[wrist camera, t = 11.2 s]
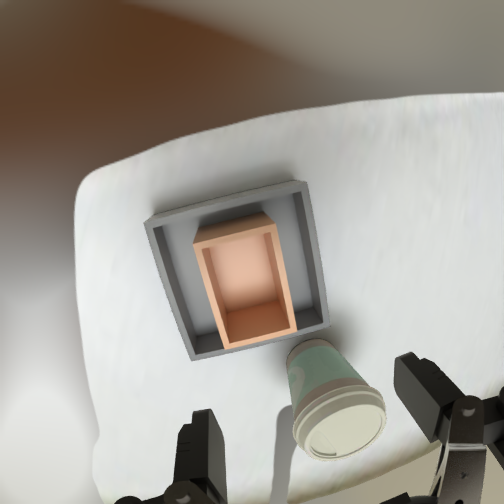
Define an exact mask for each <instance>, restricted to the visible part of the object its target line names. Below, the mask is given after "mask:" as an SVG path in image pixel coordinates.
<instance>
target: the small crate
mask: <svg viewBox="0 0 504 504" xmlns="http://www.w3.org/2000/svg"><path fill="white" fill-rule="evenodd" d="M193 247H194V251H195V254H196V258H197V261H198V265H199V268H200V272H201V275H202V278H203V282H204V285H205V288H206V292H207V295H208V298H209V301H210V305H211V308H212V311H213V314H214V318H215V321H216V324H217V327H218V330H219V333H220V336H221V339H222V342H223V346H224V349H225V350H227V349H231V348H235V347H240V346H244V345H248V344H252V343H256V342H260V341H264V340H268V339H272V338H276V337H280V336H284V335H287V334H291V333H295V332H297V327H296V321H295V316H294V311H293V306H292V300H291V295H290V290H289V285H288V280H287V275H286V270H285V265H284V260H283V255H282V251H281V246H280V241H279V236H278V231H277V227H276V223H275V222H274V221H273V220H272V219H271V218H270V217H269V216H268V215H267V214H266V213H265V212H264V211H263V212H259V213H255V214H251V215H247V216H243V217H238V218H234V219H230V220H226V221H222V222H218V223H214V224H210V225H206V226H202V227H199V228H198V229H197V232H196V235H195V238H194V241H193Z"/></svg>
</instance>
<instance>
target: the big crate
mask: <svg viewBox="0 0 504 504" xmlns="http://www.w3.org/2000/svg"><path fill="white" fill-rule="evenodd" d="M263 211H264V212H265V213H266V214H267V215H268V216H269V217H270V218H271V219H272V220H273V221H274V222H275V223H276V227H277V231H278V236H279V241H280V246H281V251H282V255H283V260H284V265H285V270H286V275H287V280H288V285H289V290H290V295H291V300H292V306H293V311H294V316H295V321H296V327H297V332H295V333H291V334H287V335H284V336H280V337H276V338H272V339H268V340H264V341H260V342H256V343H252V344H248V345H244V346H240V347H235V348H231V349H227V350H225V349H224V346H223V342H222V339H221V336H220V333H219V330H218V327H217V324H216V321H215V318H214V314H213V311H212V308H211V305H210V301H209V298H208V295H207V292H206V288H205V285H204V282H203V278H202V275H201V272H200V268H199V265H198V261H197V258H196V254H195V251H194V247H193V241H194V238H195V235H196V232H197V229H198V228H199V227H202V226H206V225H210V224H214V223H218V222H222V221H226V220H230V219H234V218H238V217H243V216H247V215H251V214H255V213H259V212H263ZM144 226H145V229H146V233H147V236H148V240H149V243H150V246H151V249H152V253H153V256H154V259H155V262H156V265H157V268H158V271H159V274H160V278H161V281H162V283H163V286H164V289H165V292H166V295H167V298H168V301H169V304H170V307H171V309H172V312H173V315H174V318H175V320H176V323H177V326H178V329H179V331H180V334H181V336H182V339H183V342H184V344H185V347H186V349H187V352H188V354H189V357H190V359H191V361H195V360H200V359H205V358H210V357H215V356H219V355H224V354H228V353H233V352H237V351H241V350H246V349H250V348H254V347H258V346H262V345H266V344H270V343H274V342H277V341H281V340H285V339H289V338H292V337H296V336H300V335H303V334H307V333H310V332H314V331H317V330H321V329H324V328H327V327H330V319H329V311H328V304H327V297H326V290H325V283H324V276H323V270H322V263H321V257H320V251H319V245H318V239H317V233H316V228H315V222H314V217H313V211H312V206H311V201H310V195H309V190H308V185H307V182H302V181H297V180H293V181H288V182H284V183H279V184H274V185H270V186H266V187H261V188H257V189H253V190H248V191H244V192H240V193H236V194H232V195H227V196H223V197H219V198H215V199H211V200H207V201H204V202H200V203H196V204H192V205H188V206H184V207H181V208H177V209H173V210H170V211H166V212H162V213H159V214H155V215H153V216H152V217H150V218H149V219H148V220H146V221H145V222H144Z"/></svg>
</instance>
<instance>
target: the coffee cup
mask: <svg viewBox="0 0 504 504" xmlns="http://www.w3.org/2000/svg"><path fill="white" fill-rule="evenodd" d="M286 365H287V373H288V380H289V387H290V394H291V401H292V407H293V414H294V421H295V423H294V426H293V436H294V438H295V440H296V442H297V444H298V445H299V447H300V448H301V449H303V450H304V451H305V452H306V454H307V455H308V456H310V457H311V458H313V459H316V460H320V461H336V460H341V459H344V458H348V457H350V456H353V455H355V454H357V453H359V452H361V451H362V450H364V449H366V448H367V447H368V446H370V445H371V444H372V443H373V442H374V441H375V440H376V439H377V438H378V437H379V436H380V434H381V433H382V431H383V429H384V427H385V425H386V413H385V403H384V401H383V397H382V395H381V394H380V392H379V391H377V390H376V389H374V388H372V387H370V386H369V385H368V384H367V383H366V381H365V380H364V379H363V378H362V377H361V376H360V375H359V374H358V373H357V372H356V371H355V369H354V368H353V367H352V366H351V365H350V364H349V363H348V362H347V361H346V360H345V358H344V357H343V356H342V355H341V354H340V353H339V352H338V351H337V350H336V349H335V348H334V346H333V345H332V344H331V343H329V342H328V341H326V340H322V339H311V340H307V341H305V342H302V343H301V344H299V345H297V346H296V347H295V348H294V349H293V350H292V351H291V353H290V354H289V356H288V358H287V363H286Z"/></svg>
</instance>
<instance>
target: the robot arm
mask: <svg viewBox="0 0 504 504" xmlns="http://www.w3.org/2000/svg"><path fill="white" fill-rule="evenodd" d="M394 388H395V391H396V394H397V395H398V397H399V398H400V400H401V401H402V403H403V404H404V405H405V407H406V408H407V410H408V411H409V413H410V414H411V415H412V417H413V418H414V420H415V421H416V423H417V424H418V426H419V427H420V428H421V430H422V431H423V433H424V434H425V436H426V437H427V439H428V440H429V442H430V443H432V442H434V441H436V440H438V439H439V440H440V441H441V443H442V444H441V447H440V453H439V457H438V462H437V467H436V471H435V476H434V480H433V483H432V486H431V489H430V492H429V495H428V496H414V497H409V496H408V493H407V492H406V493H403V494H401V495H399V496H396V497H394V498H392V499H389V500H387V501H384V502H382V503H380V504H480V500H481V494H482V488H483V480H484V472H485V463H486V451H487V450H486V446H484V445H487V446H488V448H489V449H490V450H491V452H492V453H493V455H494V456H495V458H496V459H497V461H498V462H499V464H500V465H501V467H502V468H503V470H504V386H503V387H502V389H501V390H500V393H499V395H498V396H495V397H492V398H488V399H484V400H481V399H480V398H478V397H476V396H472V395H467V396H465V395H464V394H463V392H462V391H461V390H460V389H459V388H458V387H457V386H456V385H455V384H454V383H453V382H452V381H451V380H450V379H449V378H448V377H447V376H446V374H445V373H444V372H443V371H441V370H440V368H439V367H438V366H437V365H436V364H435V363H434V362H432V361H430V360H428V359H426V358H423V359H421V360H420V359H419V358H418V357H417V356H416V355H415V354H414V353H413V352H409V353H406V354H404V355H401V356H399V357H396V358H395V365H394ZM176 452H177V453H176V458H175V468H174V478H173V483H172V484H171V485H170V486H169V487H168V488H167V489H166V490H165V492H164V494H162V495H160V496H158V497H155V498H151V499H148V500H144V501H141V500H140V499H139V498H137V497H134V496H125V497H122V498H120V499H119V500H117V501H116V502H115V503H114V504H228V503H227V486H226V466H225V444H224V437H223V434H222V431H221V429H220V427H219V424H218V422H217V420H216V418H215V416H214V414H213V411H212V410H211V409H205V410H199V411H193V414H192V423H191V424H184V425H183V427H182V428H181V430H180V432H179V433H178V440H177V449H176Z"/></svg>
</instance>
